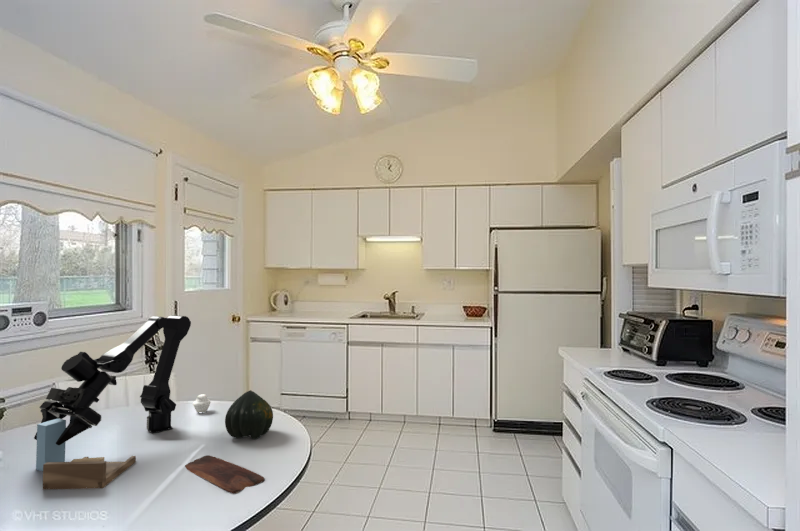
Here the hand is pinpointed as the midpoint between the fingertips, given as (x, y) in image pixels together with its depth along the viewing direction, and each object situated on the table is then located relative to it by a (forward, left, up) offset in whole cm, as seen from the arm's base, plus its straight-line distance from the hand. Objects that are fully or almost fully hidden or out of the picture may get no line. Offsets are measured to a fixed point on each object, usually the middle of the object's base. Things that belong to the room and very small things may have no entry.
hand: (46, 442), depth 115 cm
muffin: (-48, -24, -8) cm, 55 cm away
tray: (-9, +13, -8) cm, 17 cm away
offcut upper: (-6, +16, -5) cm, 18 cm away
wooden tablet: (-35, +32, -9) cm, 48 cm away
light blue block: (-1, 0, -8) cm, 8 cm away
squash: (-51, +11, -8) cm, 53 cm away
